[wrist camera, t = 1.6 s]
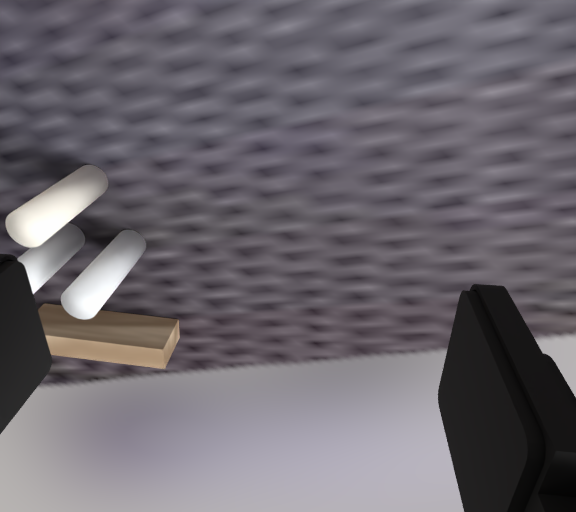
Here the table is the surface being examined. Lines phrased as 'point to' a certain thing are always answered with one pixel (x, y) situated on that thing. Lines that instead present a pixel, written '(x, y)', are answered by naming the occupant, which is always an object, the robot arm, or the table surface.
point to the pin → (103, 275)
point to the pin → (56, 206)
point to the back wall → (110, 336)
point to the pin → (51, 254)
